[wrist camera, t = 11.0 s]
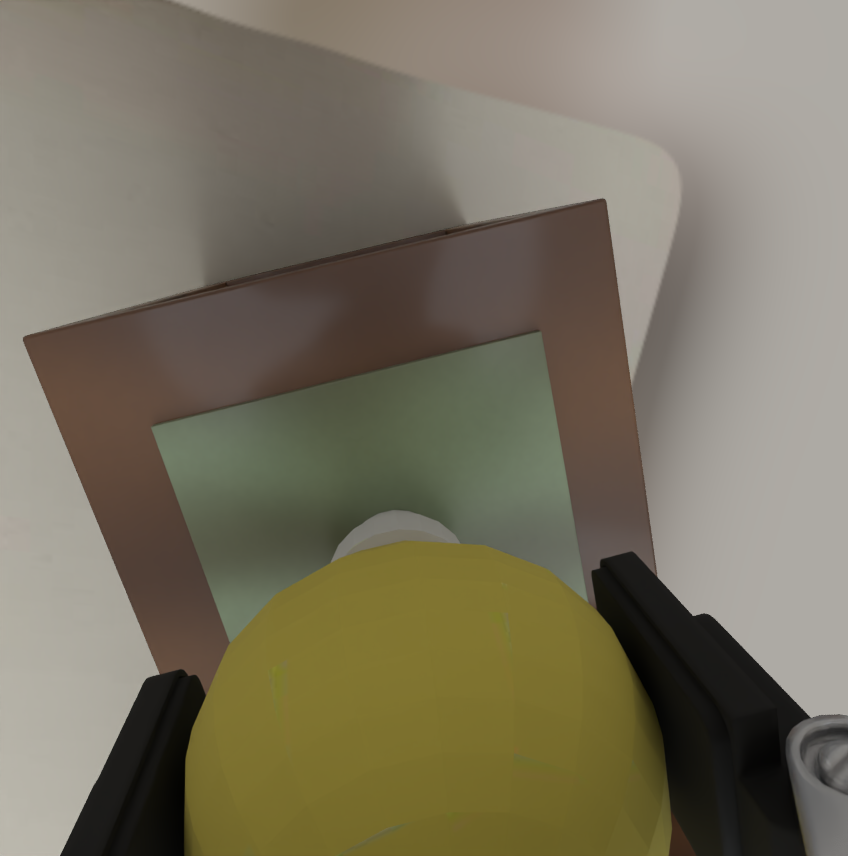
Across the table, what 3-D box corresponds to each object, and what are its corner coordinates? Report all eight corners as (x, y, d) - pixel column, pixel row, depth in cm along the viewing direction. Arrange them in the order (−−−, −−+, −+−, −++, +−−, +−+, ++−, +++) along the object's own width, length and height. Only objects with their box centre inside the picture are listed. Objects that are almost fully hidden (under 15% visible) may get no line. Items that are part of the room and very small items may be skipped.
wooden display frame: (204, 286, 31) (-220, 402, 8) (467, 223, 31) (779, 164, 9) (293, 563, 35) (184, 1154, 12) (522, 504, 36) (828, 967, 13)
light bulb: (351, 367, 14) (352, 608, 5) (582, 510, 16) (926, 906, 6) (203, 599, 16) (-32, 1164, 6) (433, 712, 17) (536, 1301, 8)
